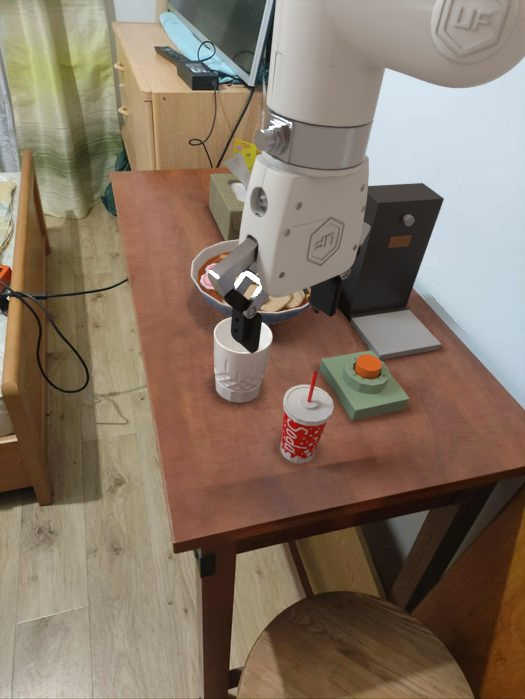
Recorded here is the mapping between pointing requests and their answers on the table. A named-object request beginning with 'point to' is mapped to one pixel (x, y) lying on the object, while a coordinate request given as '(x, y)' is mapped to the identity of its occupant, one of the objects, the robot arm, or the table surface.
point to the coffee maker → (391, 270)
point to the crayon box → (246, 152)
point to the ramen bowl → (272, 307)
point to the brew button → (368, 366)
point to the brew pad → (362, 387)
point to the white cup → (239, 364)
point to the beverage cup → (304, 420)
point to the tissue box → (229, 197)
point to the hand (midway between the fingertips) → (284, 325)
